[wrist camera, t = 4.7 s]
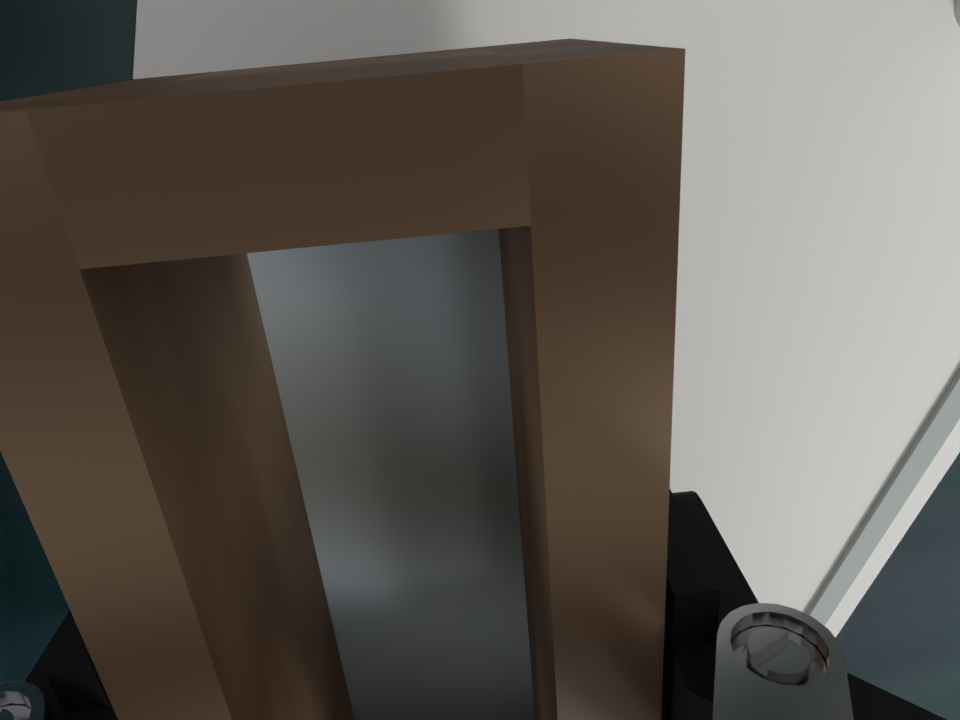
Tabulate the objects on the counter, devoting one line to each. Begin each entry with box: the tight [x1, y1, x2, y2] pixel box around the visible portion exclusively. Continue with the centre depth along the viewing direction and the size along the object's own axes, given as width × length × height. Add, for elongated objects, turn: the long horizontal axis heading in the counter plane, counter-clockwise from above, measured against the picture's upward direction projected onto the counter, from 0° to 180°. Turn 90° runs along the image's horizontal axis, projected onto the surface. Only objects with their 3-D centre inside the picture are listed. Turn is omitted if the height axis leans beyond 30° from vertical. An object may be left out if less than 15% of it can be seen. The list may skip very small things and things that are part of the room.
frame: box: [0, 39, 685, 720], centre depth 10 cm, size 14×6×5 cm, turn 4°
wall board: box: [133, 0, 960, 638], centre depth 15 cm, size 22×19×4 cm
